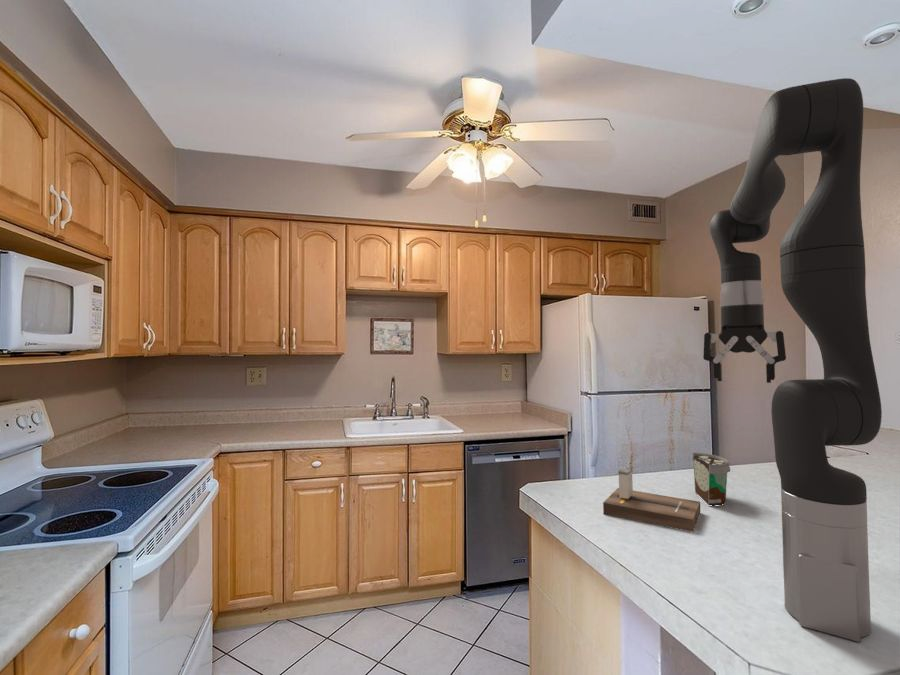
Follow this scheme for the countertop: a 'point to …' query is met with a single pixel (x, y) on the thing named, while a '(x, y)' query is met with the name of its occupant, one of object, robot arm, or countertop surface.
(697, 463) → the food container
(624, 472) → the fader tab
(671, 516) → the fader console
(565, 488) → the countertop surface
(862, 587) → the robot arm
